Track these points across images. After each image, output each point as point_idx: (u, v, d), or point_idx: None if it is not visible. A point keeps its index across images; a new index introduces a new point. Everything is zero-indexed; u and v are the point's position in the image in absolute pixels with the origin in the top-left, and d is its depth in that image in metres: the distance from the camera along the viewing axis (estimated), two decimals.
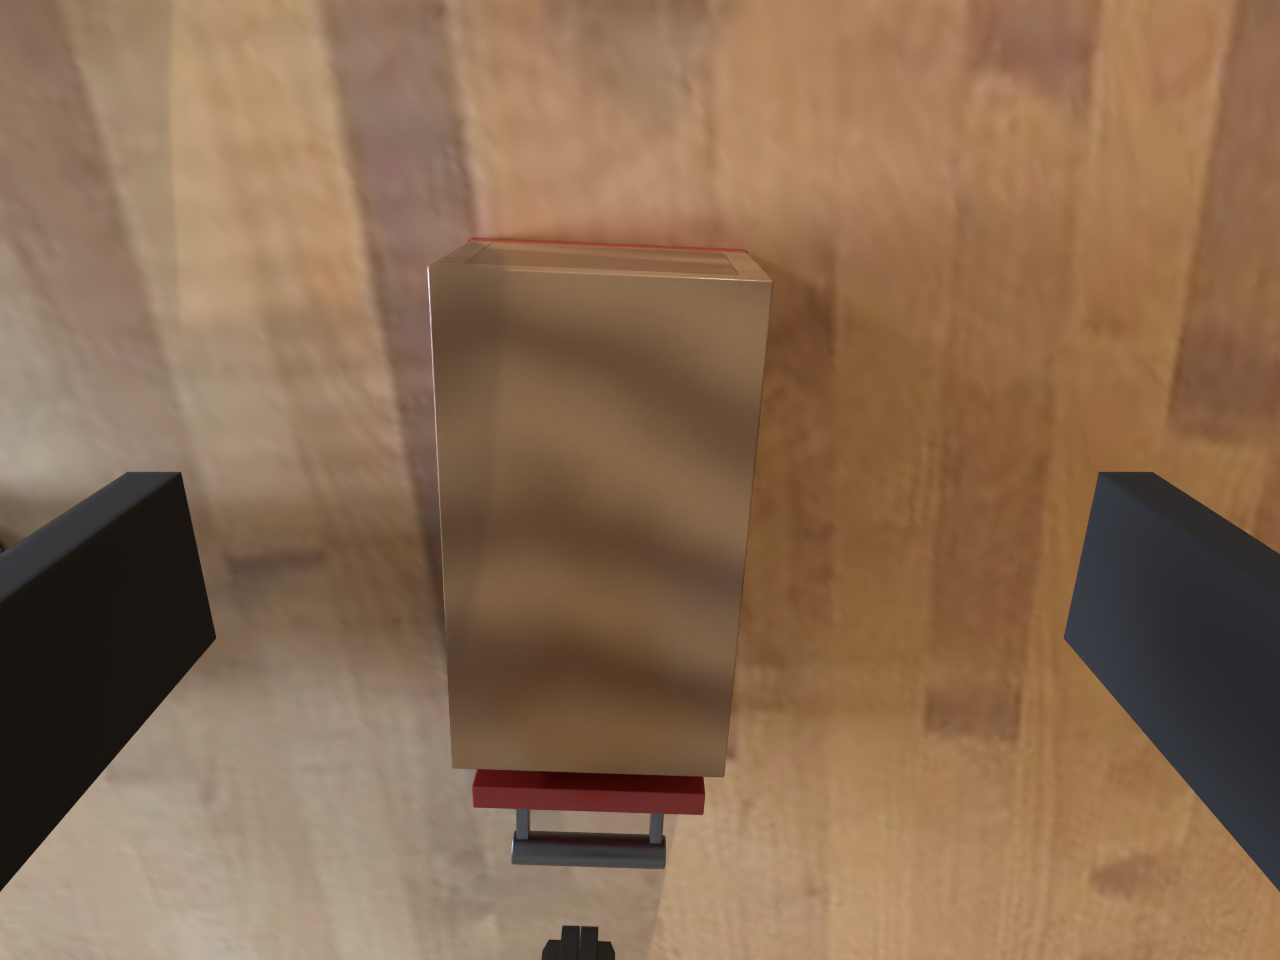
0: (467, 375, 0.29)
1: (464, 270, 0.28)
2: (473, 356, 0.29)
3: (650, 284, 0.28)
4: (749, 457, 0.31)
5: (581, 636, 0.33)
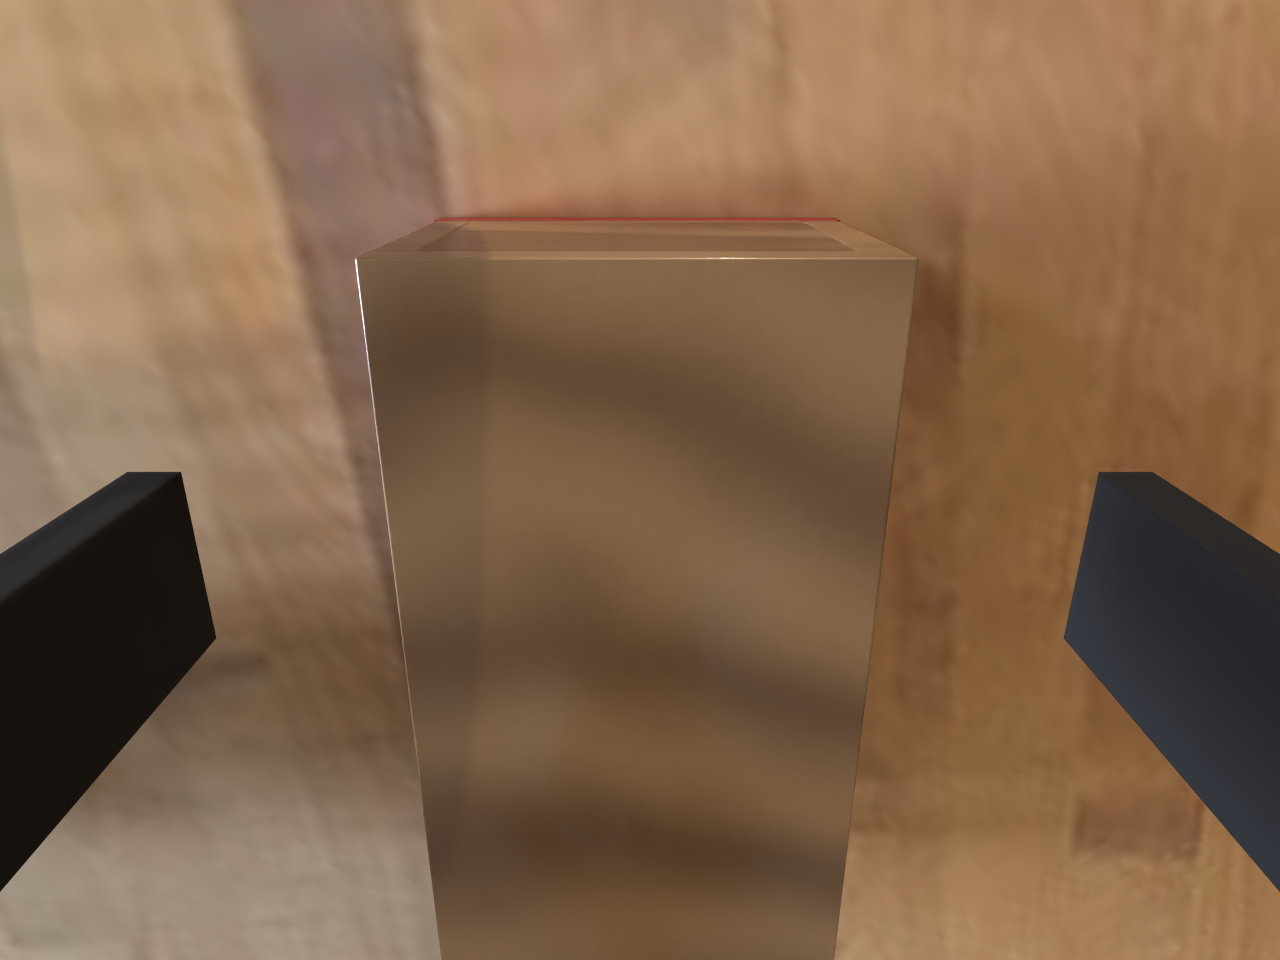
0: (430, 429, 0.19)
1: (414, 262, 0.17)
2: (437, 399, 0.18)
3: (717, 272, 0.17)
4: (875, 535, 0.20)
5: (621, 799, 0.23)
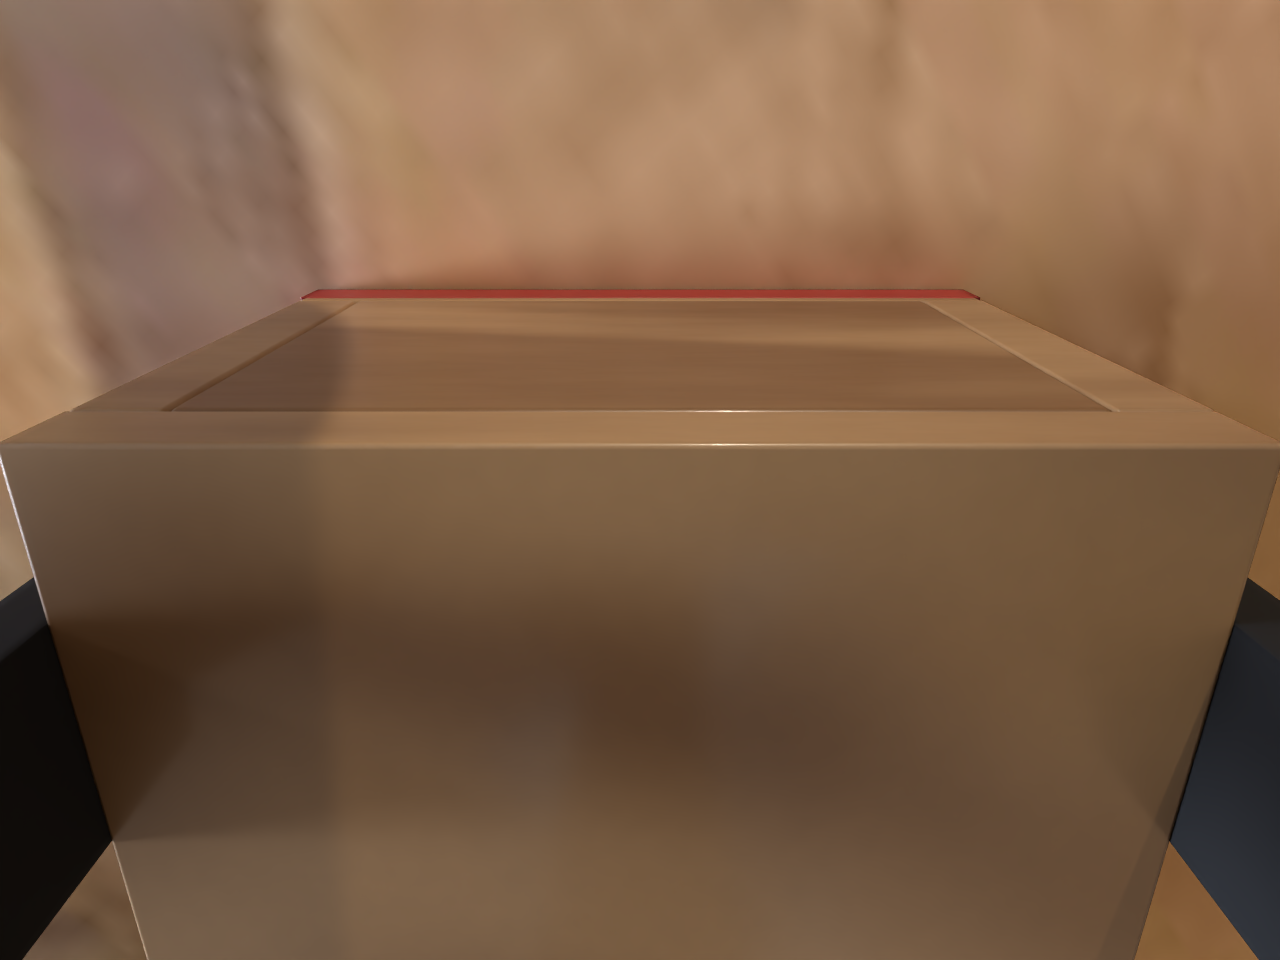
0: (205, 776, 0.09)
1: (130, 454, 0.08)
2: (215, 722, 0.09)
3: (824, 474, 0.08)
4: (1116, 957, 0.10)
5: None
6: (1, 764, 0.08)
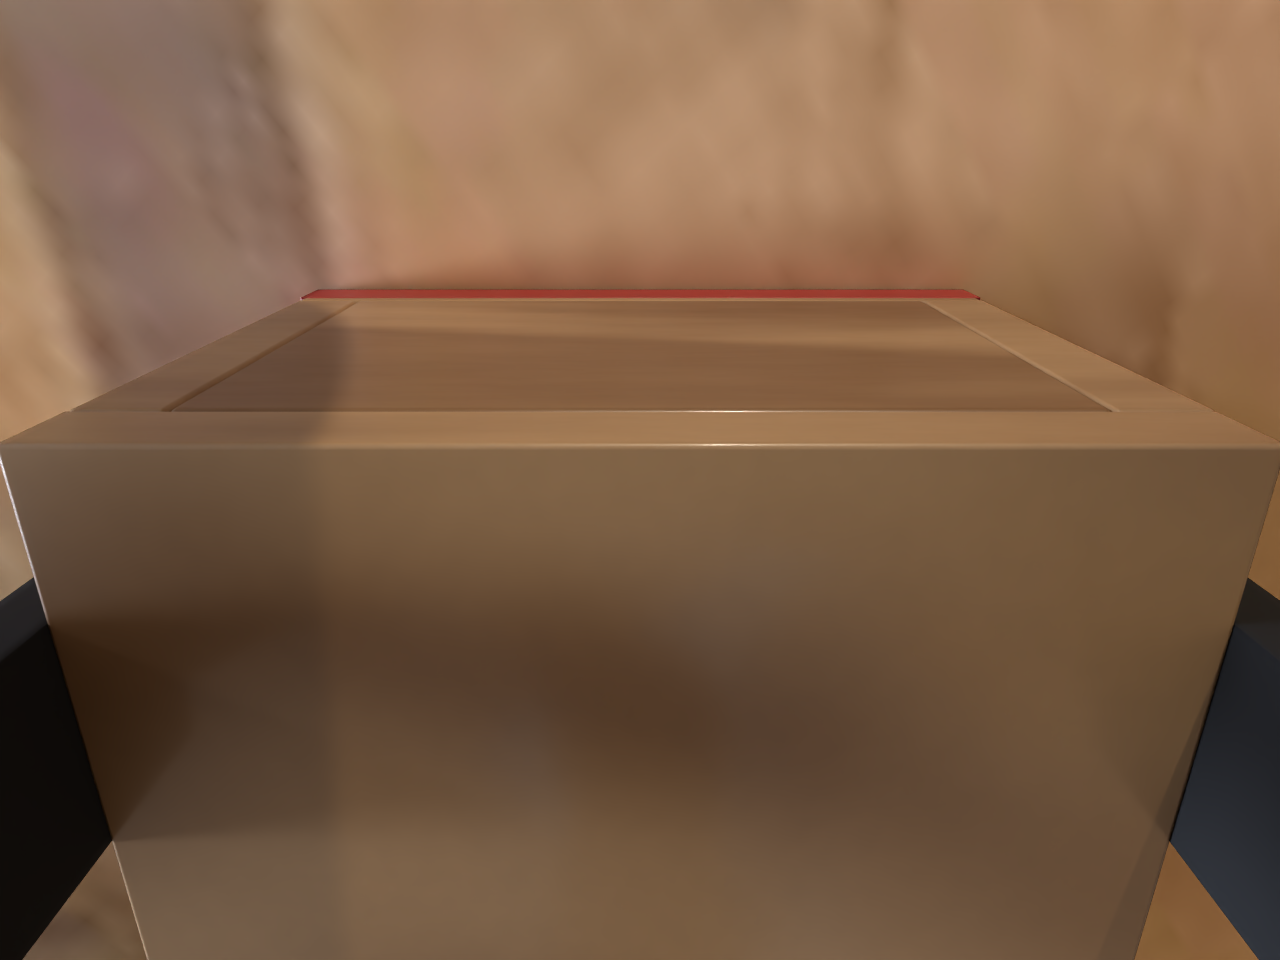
0: (205, 776, 0.09)
1: (130, 454, 0.08)
2: (215, 722, 0.09)
3: (825, 474, 0.08)
4: (1116, 957, 0.10)
5: None
6: (1, 764, 0.08)
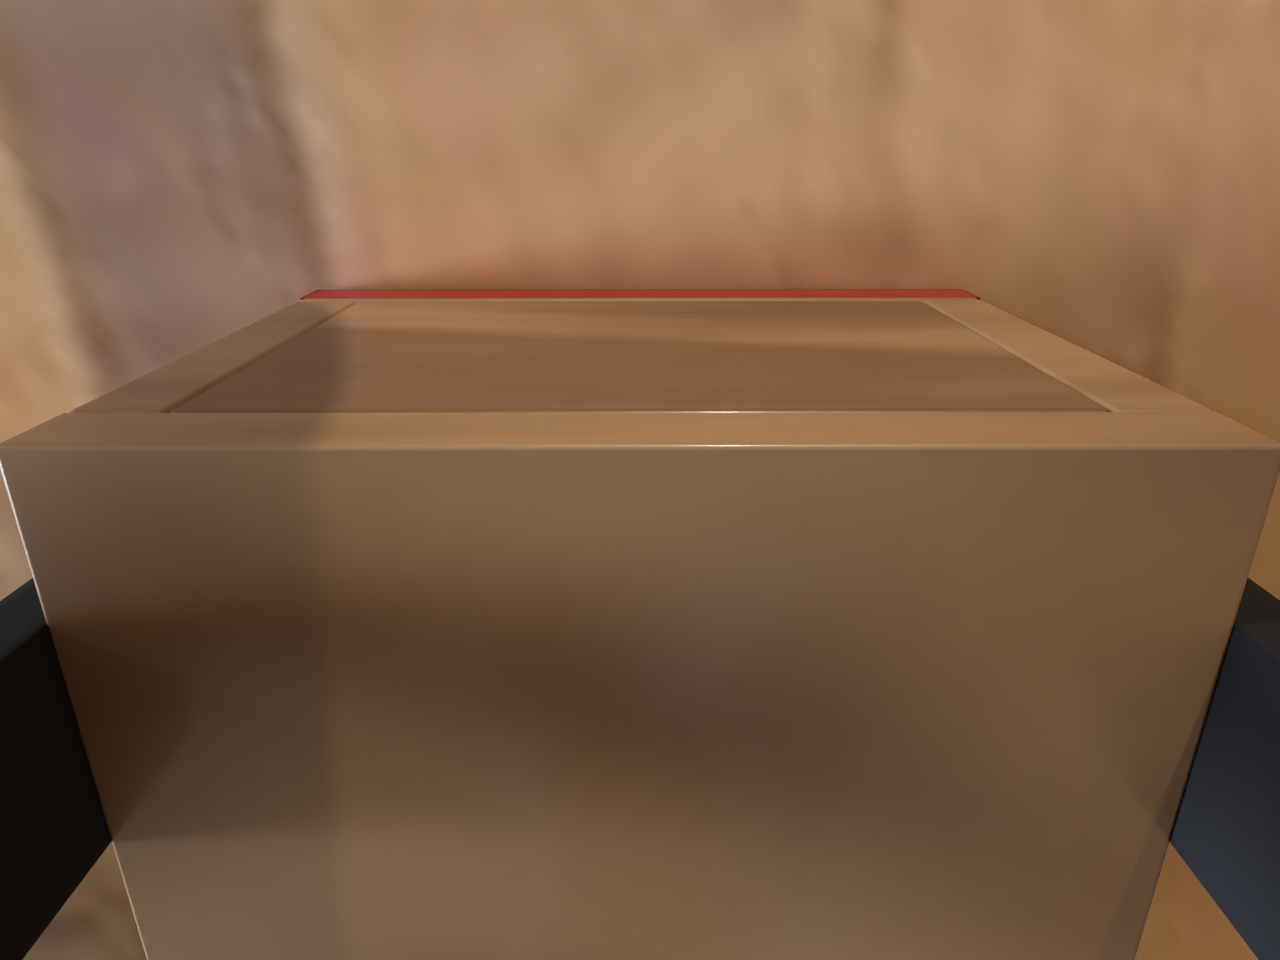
0: (205, 777, 0.09)
1: (130, 456, 0.08)
2: (215, 723, 0.09)
3: (824, 475, 0.08)
4: (1116, 957, 0.10)
5: None
6: (1, 764, 0.08)
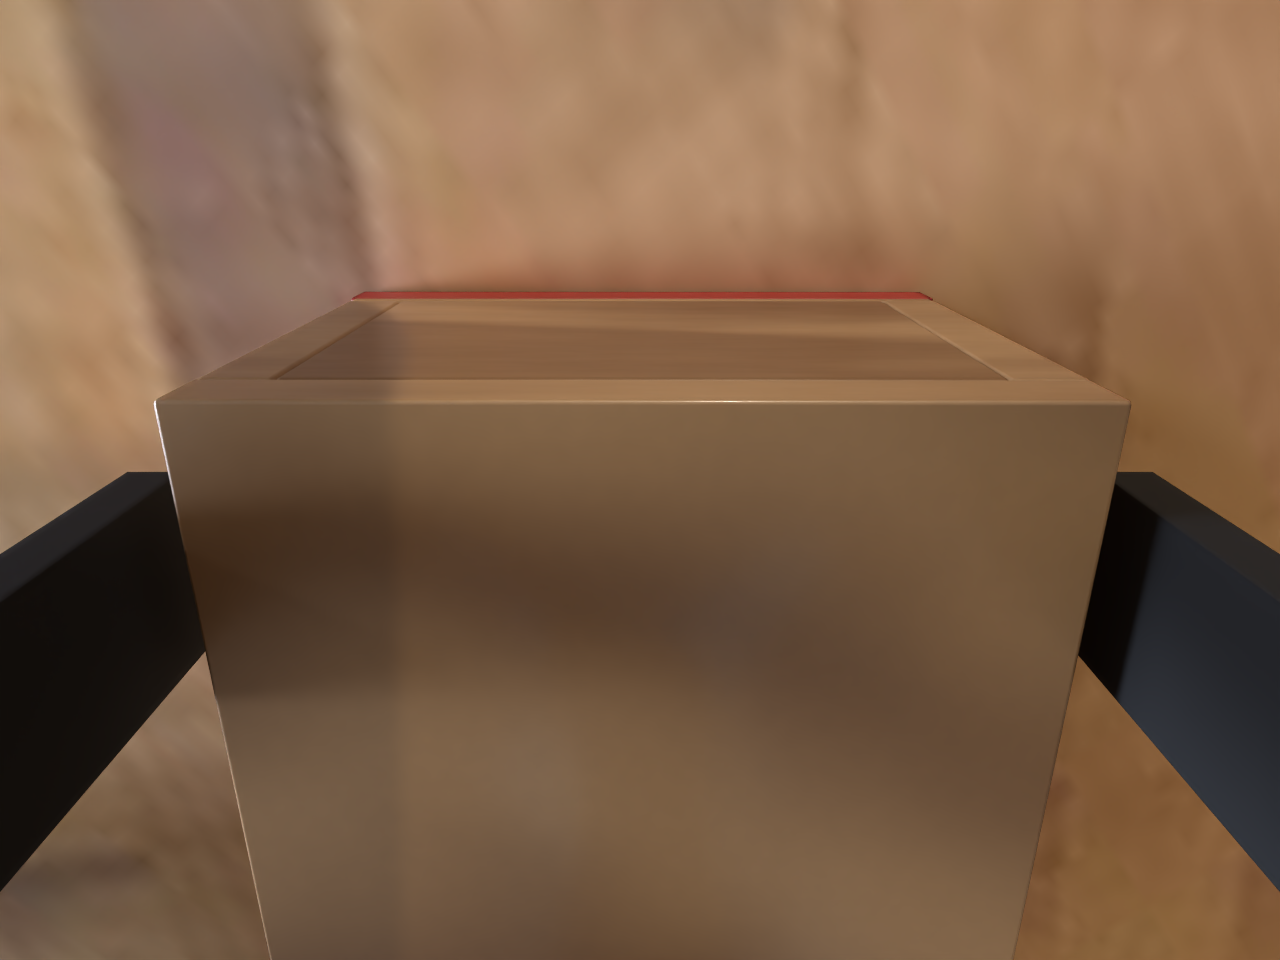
0: (298, 668, 0.11)
1: (256, 408, 0.10)
2: (308, 623, 0.11)
3: (782, 424, 0.10)
4: (1026, 826, 0.12)
5: None
6: None
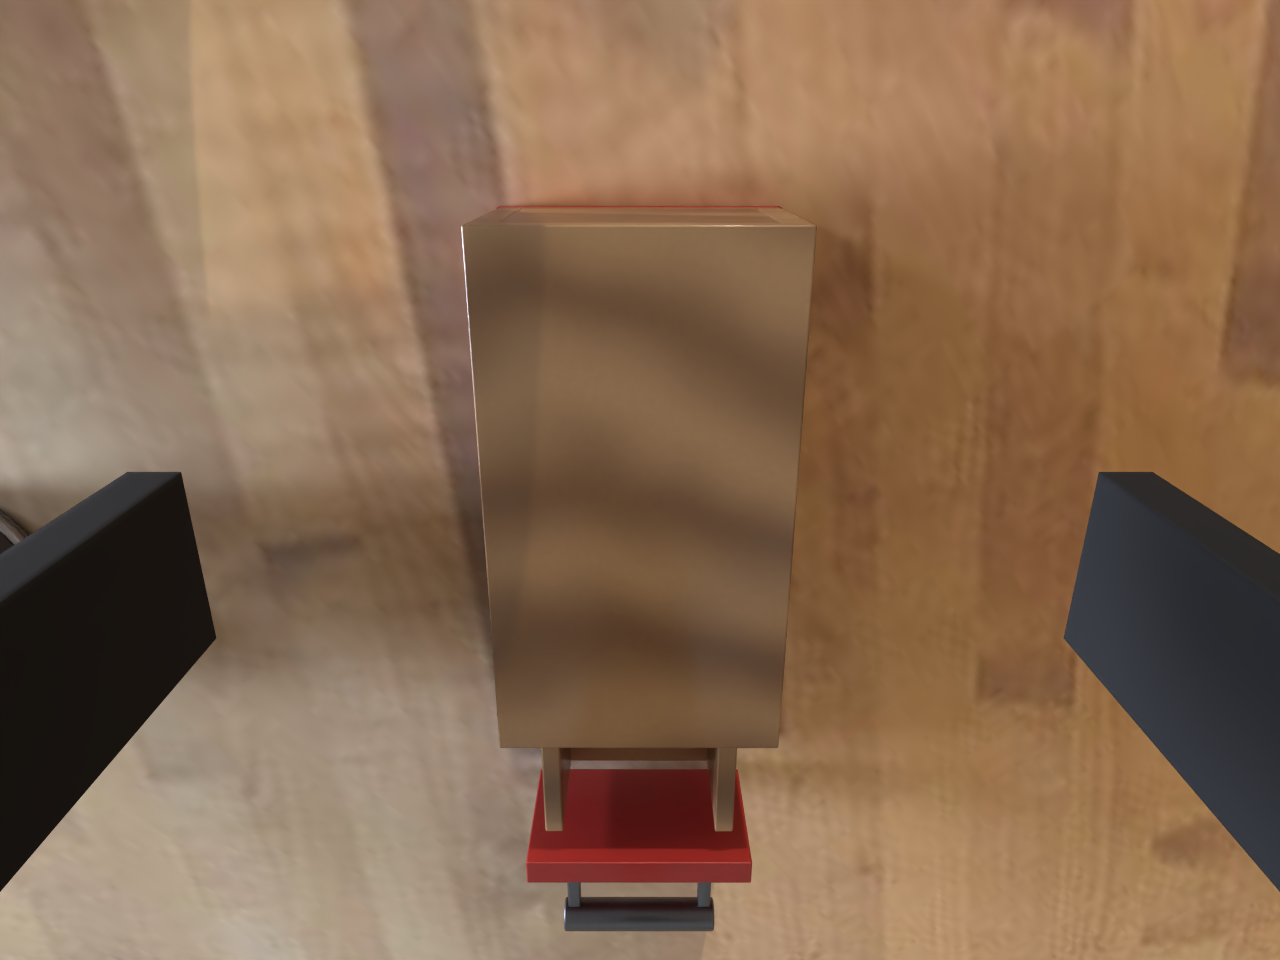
0: (504, 338, 0.29)
1: (499, 228, 0.27)
2: (510, 317, 0.28)
3: (690, 234, 0.28)
4: (796, 412, 0.30)
5: (628, 606, 0.33)
6: None
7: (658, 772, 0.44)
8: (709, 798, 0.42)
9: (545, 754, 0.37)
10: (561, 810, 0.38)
